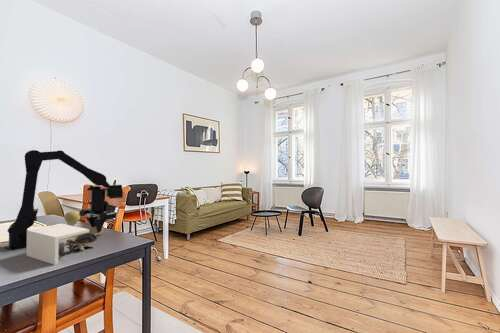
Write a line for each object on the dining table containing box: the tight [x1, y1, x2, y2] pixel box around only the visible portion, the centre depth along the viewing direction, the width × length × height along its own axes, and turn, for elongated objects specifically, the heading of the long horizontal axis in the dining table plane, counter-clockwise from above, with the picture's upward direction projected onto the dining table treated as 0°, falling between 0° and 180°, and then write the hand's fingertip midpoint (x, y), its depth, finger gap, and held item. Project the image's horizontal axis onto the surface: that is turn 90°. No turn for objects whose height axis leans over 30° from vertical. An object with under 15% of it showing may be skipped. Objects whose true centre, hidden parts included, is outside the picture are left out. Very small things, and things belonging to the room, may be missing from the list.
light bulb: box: [64, 210, 81, 227], centre depth 124 cm, size 6×6×10 cm
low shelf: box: [25, 223, 89, 266], centre depth 92 cm, size 18×12×10 cm, turn 66°
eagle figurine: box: [66, 234, 98, 254], centre depth 98 cm, size 8×7×9 cm
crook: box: [58, 225, 105, 254], centre depth 107 cm, size 10×24×4 cm, turn 157°
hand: (97, 231), depth 117 cm, fingers closed on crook, 2 cm apart
